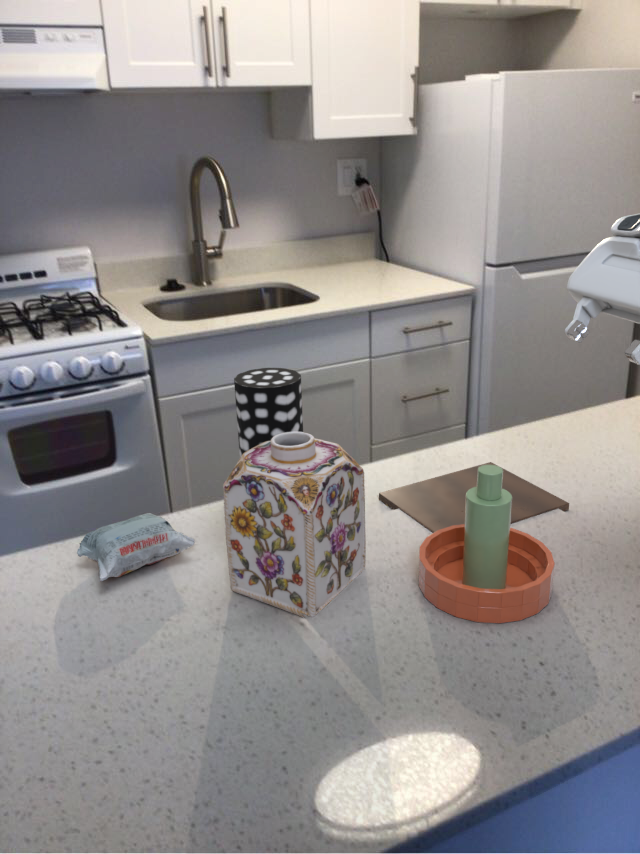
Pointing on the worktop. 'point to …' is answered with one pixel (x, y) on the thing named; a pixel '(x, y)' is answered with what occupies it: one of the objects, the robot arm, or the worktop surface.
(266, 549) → the decorative jar
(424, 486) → the board
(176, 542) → the packaged food
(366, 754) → the worktop surface
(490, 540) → the bottle
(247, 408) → the spotted tube
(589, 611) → the worktop surface
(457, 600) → the bowl
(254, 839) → the worktop surface
